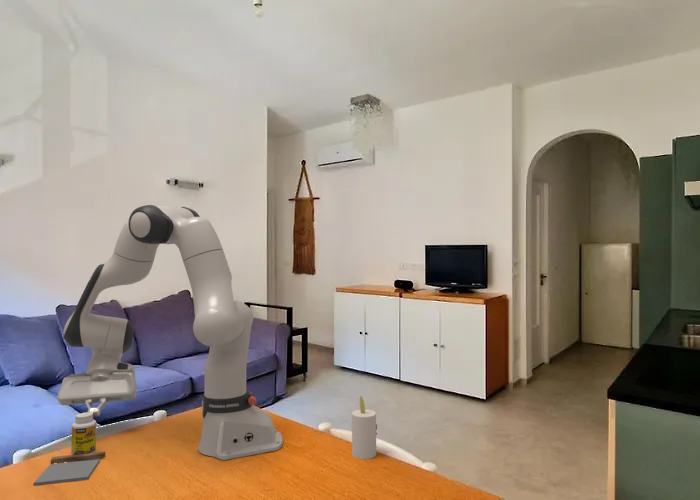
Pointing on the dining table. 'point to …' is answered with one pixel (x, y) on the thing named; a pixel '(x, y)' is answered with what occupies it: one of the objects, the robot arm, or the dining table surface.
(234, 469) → the dining table surface
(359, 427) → the candle
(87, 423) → the supplement bottle
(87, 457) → the strip
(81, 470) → the felt tile
